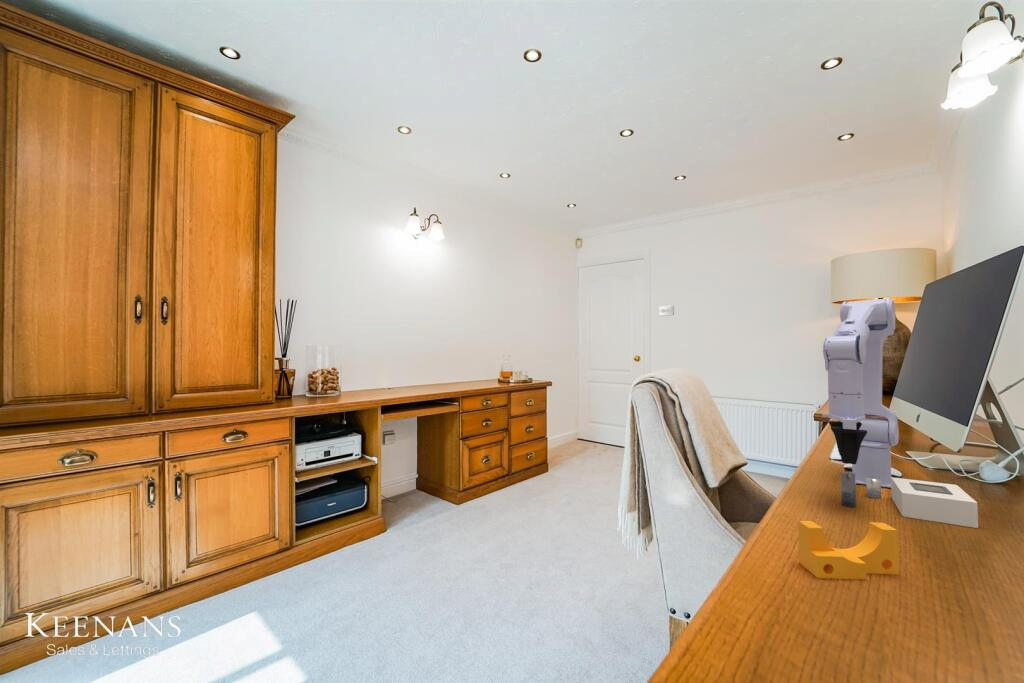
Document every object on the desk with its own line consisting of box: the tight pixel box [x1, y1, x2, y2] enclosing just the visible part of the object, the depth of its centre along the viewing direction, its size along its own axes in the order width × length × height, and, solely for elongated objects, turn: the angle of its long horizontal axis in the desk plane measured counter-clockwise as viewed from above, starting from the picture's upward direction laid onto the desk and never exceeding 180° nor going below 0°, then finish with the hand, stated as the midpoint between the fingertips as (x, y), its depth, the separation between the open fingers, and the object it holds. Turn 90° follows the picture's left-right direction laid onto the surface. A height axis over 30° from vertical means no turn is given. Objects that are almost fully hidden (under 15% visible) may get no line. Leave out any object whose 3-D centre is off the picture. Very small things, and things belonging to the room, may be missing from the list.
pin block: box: [890, 476, 979, 529], centre depth 83 cm, size 12×10×5 cm
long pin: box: [840, 471, 857, 508], centre depth 87 cm, size 2×2×6 cm
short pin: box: [866, 477, 882, 500], centre depth 92 cm, size 2×2×4 cm
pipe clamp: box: [797, 520, 900, 581], centre depth 62 cm, size 12×4×6 cm, turn 85°
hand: (847, 459), depth 88 cm, fingers open, 7 cm apart
